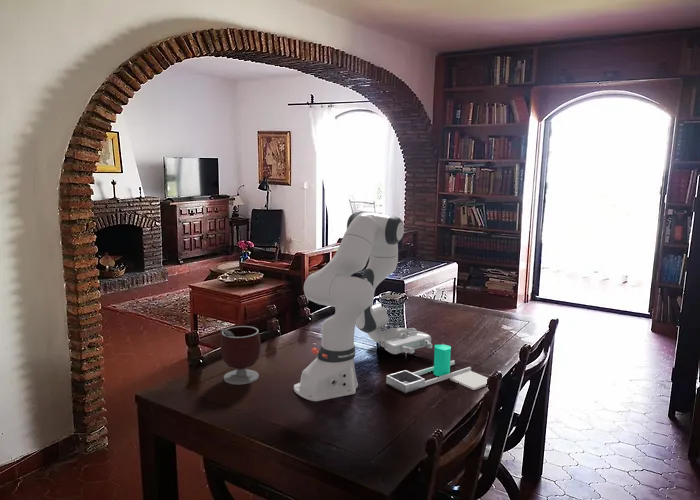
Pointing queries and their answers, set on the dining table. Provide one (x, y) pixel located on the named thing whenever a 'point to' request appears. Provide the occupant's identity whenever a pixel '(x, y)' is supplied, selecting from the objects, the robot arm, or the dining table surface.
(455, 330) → the dining table surface
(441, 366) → the candle
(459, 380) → the ceramic tile
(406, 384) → the shallow square tray
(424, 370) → the guide channel
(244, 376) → the mate gourd
